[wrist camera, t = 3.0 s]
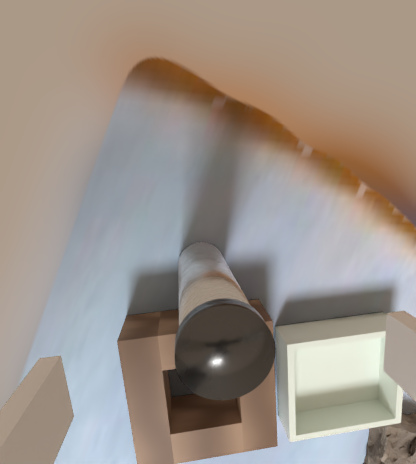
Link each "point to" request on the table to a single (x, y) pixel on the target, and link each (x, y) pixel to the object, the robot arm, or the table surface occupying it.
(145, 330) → the bore block
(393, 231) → the table surface
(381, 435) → the rock
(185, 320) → the capped bottle
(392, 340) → the robot arm
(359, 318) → the tray
